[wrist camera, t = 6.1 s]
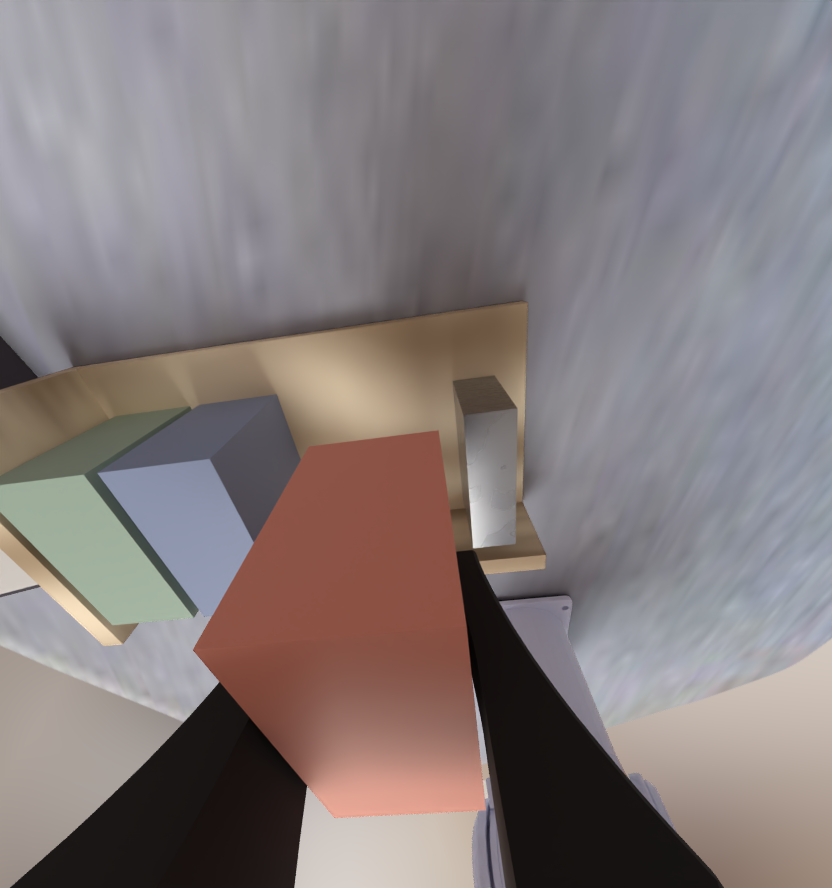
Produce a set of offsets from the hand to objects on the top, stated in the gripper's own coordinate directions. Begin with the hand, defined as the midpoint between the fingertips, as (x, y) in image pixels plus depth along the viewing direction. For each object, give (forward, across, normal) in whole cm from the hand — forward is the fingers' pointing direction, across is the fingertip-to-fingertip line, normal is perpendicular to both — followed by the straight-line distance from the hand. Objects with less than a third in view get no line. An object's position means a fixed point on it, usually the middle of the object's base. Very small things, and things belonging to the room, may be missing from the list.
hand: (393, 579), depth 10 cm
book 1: (+8, +12, 0) cm, 15 cm away
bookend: (+8, -4, 0) cm, 9 cm away
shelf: (+9, +4, 0) cm, 10 cm away
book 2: (+8, +8, 0) cm, 11 cm away
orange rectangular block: (+2, 0, 0) cm, 2 cm away
